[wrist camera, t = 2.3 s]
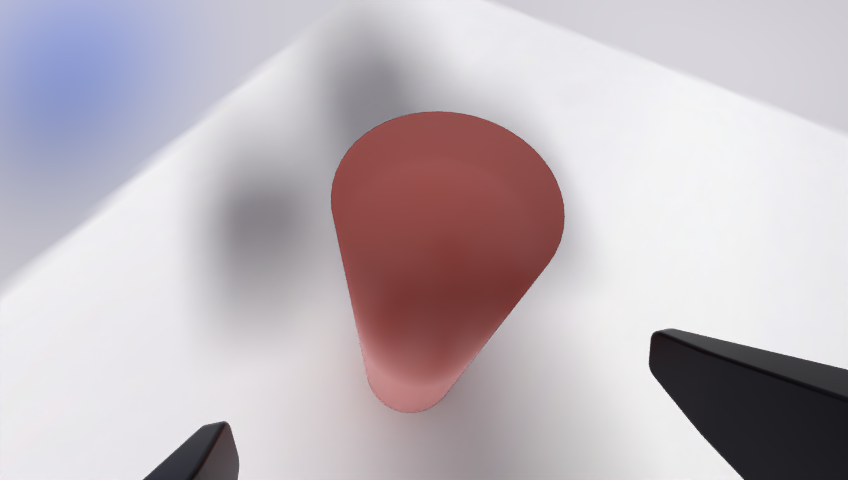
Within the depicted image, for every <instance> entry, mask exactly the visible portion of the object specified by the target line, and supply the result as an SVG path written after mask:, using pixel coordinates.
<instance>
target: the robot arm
mask: <svg viewBox="0 0 848 480" xmlns="http://www.w3.org/2000/svg"><path fill="white" fill-rule="evenodd" d="M649 368H650V370H651V372H652V374H653V376H654V377H655V378H656V379H657V381H658V382H659V383H660V384H661V386H662V387H663V388H664V389H665V391H666V392H667V393H668V394H669V396H670V397H671V398H672V399H673V400H674V402H675V403H676V404H677V405H678V407H679V408H680V409H681V410H682V412H683V413H684V414H685V415H686V417H687V418H688V419H689V420H690V422H691V423H692V424H693V425H694V426H695V428H696V429H697V430H698V431H699V432H700V434H701V435H702V436H703V437H704V438H705V439H706V440H707V441H708V442H709V443H710V444H711V446H712V447H713V448H714V449H715V450H716V451H717V452H718V453H719V454H720V455H721V456H722V457H723V458H724V459H725V460H726V461H727V462H728V463H729V464H730V465H731V467H732V468H733V469H734V470H735V471H736V472H737V473H738V474H739V475H740V476H741V477H742V478H743V479H744V480H848V370H847V369H842V368H838V367H834V366H830V365H825V364H821V363H817V362H813V361H808V360H804V359H800V358H796V357H792V356H787V355H783V354H779V353H775V352H770V351H766V350H762V349H758V348H753V347H749V346H745V345H741V344H736V343H732V342H728V341H724V340H719V339H715V338H711V337H707V336H703V335H698V334H694V333H690V332H686V331H681V330H677V329H664V330H659V331H656V332H654V333H653V334H652V336H651V342H650V354H649ZM238 473H239V457H238V453H237V449H236V445H235V442H234V438H233V435H232V431H231V428H230V425H229V424H228V423H227V422H225V421H222V422H218V423H213V424H208V425H204V426H202V427H201V428H200V429H199V430H198V431H196V432H195V433H194V434H193V435H192V436H191V437H190V438H189V439H188V440H186V441H185V442H184V443H183V444H182V445H181V446H180V447H179V448H178V449H176V450H175V451H174V452H173V453H172V454H171V455H170V456H169V457H168V458H167V459H165V460H164V461H163V462H162V463H161V464H160V465H159V466H158V467H157V468H155V469H154V470H153V471H152V472H151V473H150V474H149V475H148V476H147V477H145V478H144V479H143V480H238Z"/></svg>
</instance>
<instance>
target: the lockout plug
mask: <svg viewBox="0 0 848 480" xmlns="http://www.w3.org/2000/svg"><path fill="white" fill-rule="evenodd" d="M331 208H332V214H333V218H334V223H335V228H336V233H337V237H338V242H339V247H340V251H341V256H342V261H343V266H344V270H345V275H346V280H347V284H348V289H349V294H350V298H351V303H352V308H353V312H354V317H355V322H356V326H357V331H358V336H359V341H360V345H361V350H362V355H363V359H364V364H365V369H366V373H367V378H368V382H369V385H370V387H371V389H372V391H373V392H374V394H375V395H376V396H377V398H378V399H379V400H380V401H381V402H383V403H384V404H385V405H387V406H388V407H390V408H392V409H394V410H397V411H400V412H406V413H415V412H420V411H424V410H427V409H429V408H431V407H433V406H434V405H436V404H437V403H438V402H439V401H440V400H441V399H442V398H443V397H444V396H445V395H446V394H447V392H448V391H449V390H450V388H451V387H452V386H453V385H454V383H455V382H456V381H457V380H458V378H459V377H460V376H461V374H462V373H463V372H464V371H465V369H466V368H467V367H468V366H469V364H470V363H471V362H472V360H473V359H474V358H475V357H476V355H477V354H478V353H479V352H480V350H481V349H482V348H483V346H484V345H485V344H486V343H487V341H488V340H489V339H490V338H491V336H492V335H493V334H494V332H495V331H496V330H497V329H498V327H499V326H500V325H501V324H502V322H503V321H504V320H505V318H506V317H507V316H508V315H509V313H510V312H511V311H512V310H513V308H514V307H515V306H516V304H517V303H518V302H519V301H520V299H521V298H522V297H523V296H524V294H525V293H526V292H527V290H528V289H529V288H530V287H531V285H532V284H533V283H534V282H535V280H536V279H537V278H538V276H539V275H540V274H541V273H542V271H543V270H544V269H545V267H546V266H547V265H548V263H549V262H550V260H551V259H552V257H553V256H554V254H555V253H556V250H557V248H558V246H559V243H560V241H561V237H562V233H563V229H564V217H565V216H564V204H563V199H562V195H561V191H560V189H559V186H558V183H557V181H556V179H555V177H554V175H553V173H552V172H551V170H550V168H549V167H548V165H547V164H546V163H545V161H544V160H543V159H542V158H541V156H540V155H539V154H538V153H537V152H536V151H535V150H534V149H533V148H532V147H531V146H530V145H528V144H527V143H526V142H525V141H524V140H522V139H521V138H519V137H518V136H517V135H515V134H514V133H512V132H510V131H509V130H507V129H505V128H503V127H501V126H499V125H497V124H495V123H492V122H490V121H487V120H484V119H481V118H478V117H475V116H470V115H466V114H461V113H454V112H422V113H415V114H409V115H405V116H401V117H398V118H395V119H392V120H390V121H387V122H385V123H383V124H381V125H379V126H377V127H375V128H374V129H372V130H370V131H369V132H367V133H366V134H365V135H363V136H362V137H361V138H360V139H359V140H357V141H356V142H355V143H354V145H353V146H352V147H351V148H350V149H349V150H348V151H347V153H346V154H345V156H344V157H343V159H342V160H341V162H340V164H339V166H338V169H337V171H336V173H335V177H334V180H333V184H332V192H331Z"/></svg>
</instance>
